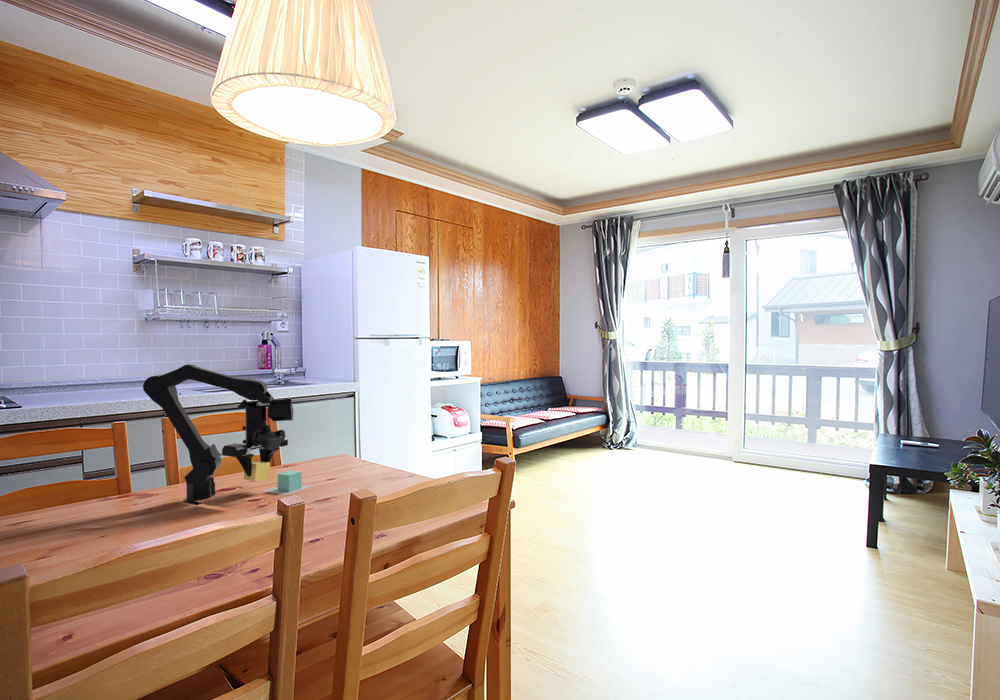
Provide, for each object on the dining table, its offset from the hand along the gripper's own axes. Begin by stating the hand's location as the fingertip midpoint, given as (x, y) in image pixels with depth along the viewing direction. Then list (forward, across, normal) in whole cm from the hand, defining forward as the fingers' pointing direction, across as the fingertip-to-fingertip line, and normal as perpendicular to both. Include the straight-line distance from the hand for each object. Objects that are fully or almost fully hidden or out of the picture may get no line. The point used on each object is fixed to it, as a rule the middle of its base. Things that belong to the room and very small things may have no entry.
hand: (256, 474), depth 152 cm
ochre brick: (+2, 0, 0) cm, 2 cm away
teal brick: (+6, +7, -6) cm, 11 cm away
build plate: (+6, +7, -5) cm, 11 cm away
